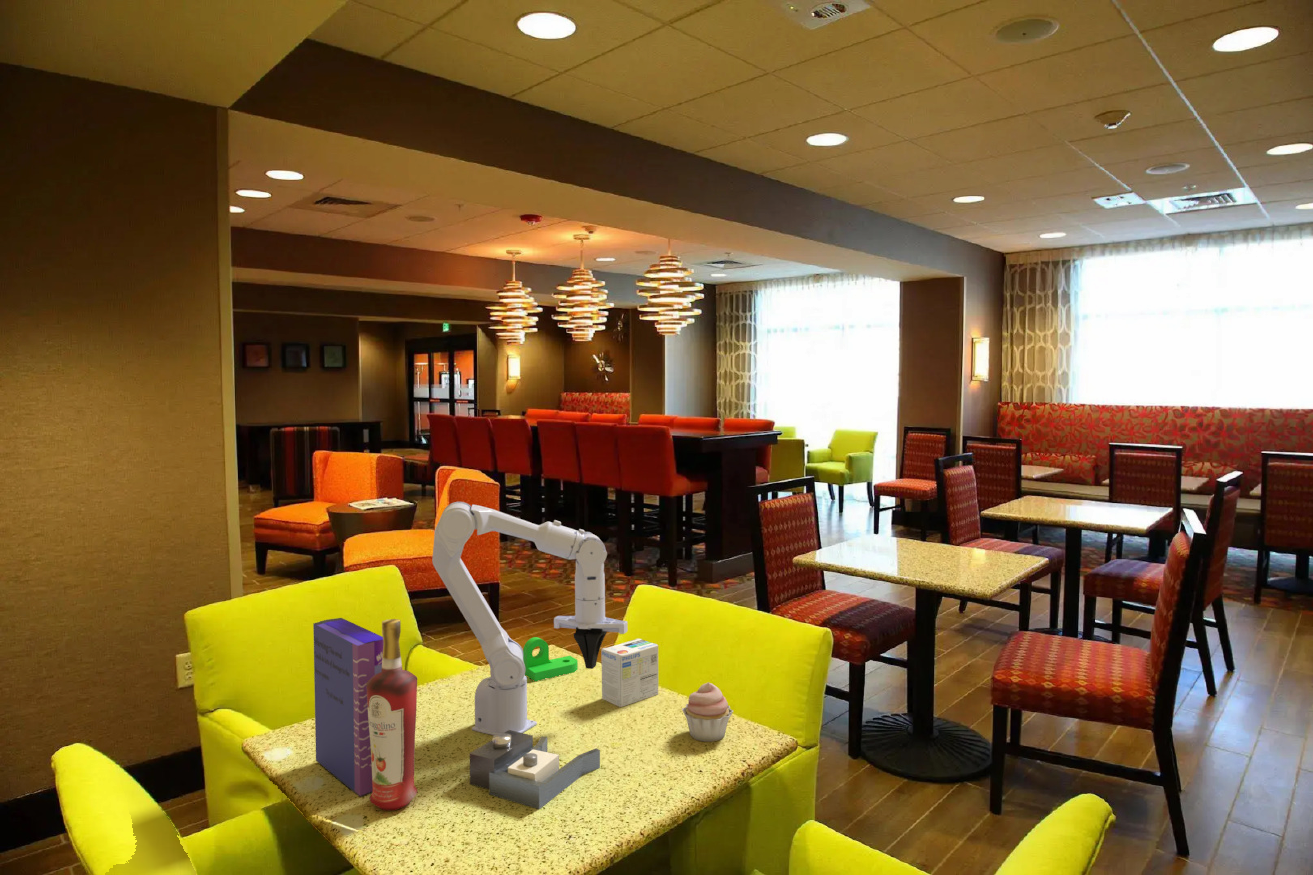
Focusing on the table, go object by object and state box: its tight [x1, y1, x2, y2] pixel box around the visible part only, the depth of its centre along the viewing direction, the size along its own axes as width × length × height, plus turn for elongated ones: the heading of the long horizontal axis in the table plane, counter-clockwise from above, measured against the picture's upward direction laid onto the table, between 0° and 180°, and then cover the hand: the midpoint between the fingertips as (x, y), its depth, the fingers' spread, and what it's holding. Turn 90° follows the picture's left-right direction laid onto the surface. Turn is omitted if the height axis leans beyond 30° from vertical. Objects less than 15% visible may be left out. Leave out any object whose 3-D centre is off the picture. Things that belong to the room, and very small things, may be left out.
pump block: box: [508, 749, 560, 782], centre depth 120 cm, size 5×7×6 cm
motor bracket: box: [469, 730, 601, 810], centre depth 124 cm, size 16×16×6 cm
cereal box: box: [313, 617, 384, 798], centre depth 125 cm, size 17×5×24 cm, turn 45°
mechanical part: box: [522, 636, 579, 682], centre depth 174 cm, size 12×6×8 cm, turn 125°
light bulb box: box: [600, 638, 659, 708], centre depth 158 cm, size 11×7×11 cm, turn 133°
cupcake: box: [681, 682, 734, 743], centre depth 139 cm, size 9×9×10 cm
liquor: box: [366, 618, 418, 812], centre depth 115 cm, size 7×7×28 cm
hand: (591, 667), depth 146 cm, fingers closed
